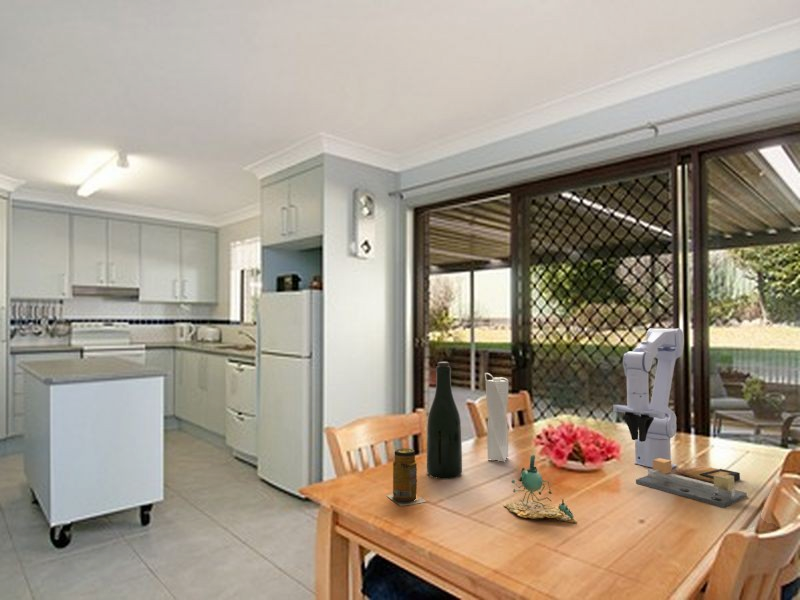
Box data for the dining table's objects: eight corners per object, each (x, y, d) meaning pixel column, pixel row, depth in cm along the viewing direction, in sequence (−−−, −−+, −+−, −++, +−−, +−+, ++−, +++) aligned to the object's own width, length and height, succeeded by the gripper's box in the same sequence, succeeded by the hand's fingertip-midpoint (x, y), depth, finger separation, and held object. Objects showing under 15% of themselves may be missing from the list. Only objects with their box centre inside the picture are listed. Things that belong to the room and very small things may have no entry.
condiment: (411, 491, 130) (410, 446, 131) (426, 502, 123) (426, 453, 123) (385, 496, 127) (385, 449, 128) (400, 507, 119) (400, 457, 120)
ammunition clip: (717, 478, 134) (675, 468, 144) (717, 485, 133) (675, 474, 144) (739, 472, 138) (697, 463, 149) (740, 479, 138) (697, 469, 149)
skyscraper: (482, 460, 158) (481, 373, 159) (487, 455, 165) (486, 371, 166) (507, 463, 155) (506, 374, 156) (511, 457, 162) (510, 372, 163)
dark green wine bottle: (450, 466, 152) (449, 359, 153) (469, 476, 143) (468, 362, 144) (420, 471, 147) (419, 361, 149) (437, 481, 138) (436, 363, 139)
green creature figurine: (562, 533, 104) (553, 462, 106) (493, 519, 117) (486, 455, 119) (583, 520, 111) (575, 453, 113) (516, 507, 124) (509, 447, 126)
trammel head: (647, 477, 135) (646, 462, 135) (660, 472, 139) (659, 458, 139) (658, 480, 132) (658, 464, 133) (671, 475, 136) (671, 460, 136)
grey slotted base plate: (635, 483, 136) (635, 461, 136) (660, 474, 143) (659, 454, 144) (724, 507, 118) (723, 483, 118) (746, 496, 125) (746, 473, 126)
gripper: (606, 391, 146) (607, 437, 146) (655, 397, 134) (656, 447, 134) (620, 389, 150) (621, 434, 150) (668, 395, 138) (669, 443, 138)
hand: (638, 440), depth 142 cm, fingers closed
